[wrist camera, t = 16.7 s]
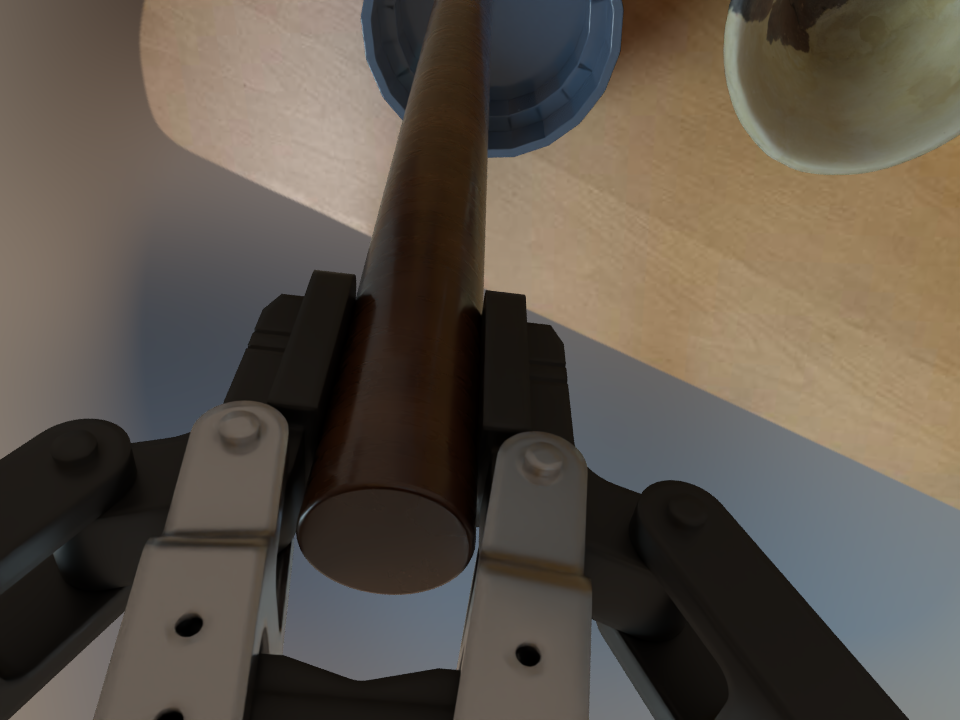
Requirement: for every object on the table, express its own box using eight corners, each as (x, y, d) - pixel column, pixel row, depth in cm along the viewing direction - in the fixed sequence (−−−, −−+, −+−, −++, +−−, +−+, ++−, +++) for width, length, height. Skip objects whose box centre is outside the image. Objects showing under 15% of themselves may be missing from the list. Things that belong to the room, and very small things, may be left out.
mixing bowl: (328, -17, 49) (307, 10, 44) (517, -197, 42) (519, -190, 37) (474, 160, 56) (471, 200, 51) (654, 28, 50) (670, 59, 45)
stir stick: (430, -28, 35) (256, 533, 10) (471, -64, 34) (392, 458, 9) (463, 16, 36) (380, 616, 11) (503, -17, 35) (511, 557, 10)
